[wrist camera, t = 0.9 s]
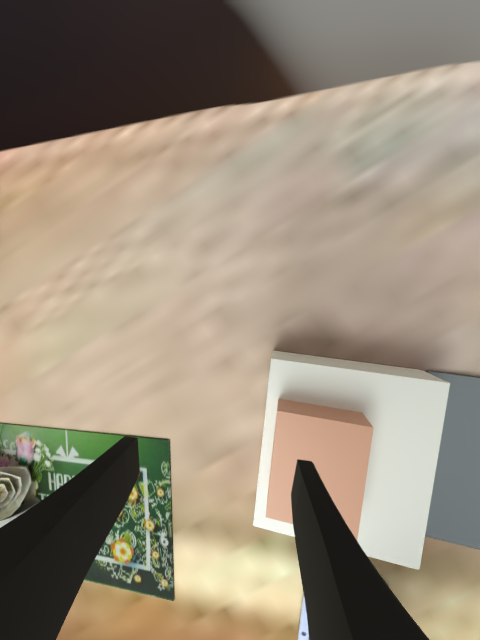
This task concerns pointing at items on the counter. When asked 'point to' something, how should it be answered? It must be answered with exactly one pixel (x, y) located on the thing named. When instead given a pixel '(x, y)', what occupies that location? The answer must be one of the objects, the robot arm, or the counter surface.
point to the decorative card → (134, 520)
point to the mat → (458, 466)
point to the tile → (320, 457)
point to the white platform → (386, 446)
